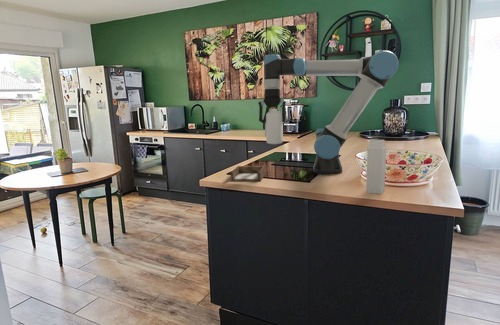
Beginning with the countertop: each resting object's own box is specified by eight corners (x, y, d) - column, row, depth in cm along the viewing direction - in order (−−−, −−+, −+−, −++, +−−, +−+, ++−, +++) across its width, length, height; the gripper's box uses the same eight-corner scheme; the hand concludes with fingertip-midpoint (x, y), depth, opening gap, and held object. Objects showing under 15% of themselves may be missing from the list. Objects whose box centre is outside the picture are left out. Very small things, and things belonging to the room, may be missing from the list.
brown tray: (265, 174, 169) (265, 166, 168) (260, 181, 156) (260, 172, 155) (238, 174, 172) (237, 166, 171) (231, 181, 159) (230, 172, 158)
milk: (370, 188, 136) (371, 138, 132) (384, 190, 133) (387, 138, 128) (365, 192, 132) (367, 140, 127) (381, 194, 128) (383, 140, 123)
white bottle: (281, 144, 153) (281, 107, 149) (265, 144, 155) (264, 107, 151) (283, 141, 161) (283, 106, 157) (267, 141, 163) (267, 106, 159)
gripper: (292, 88, 154) (291, 135, 159) (255, 88, 158) (255, 134, 163) (290, 87, 147) (290, 137, 152) (251, 88, 151) (252, 136, 156)
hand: (272, 135), depth 157 cm, fingers open, 5 cm apart
